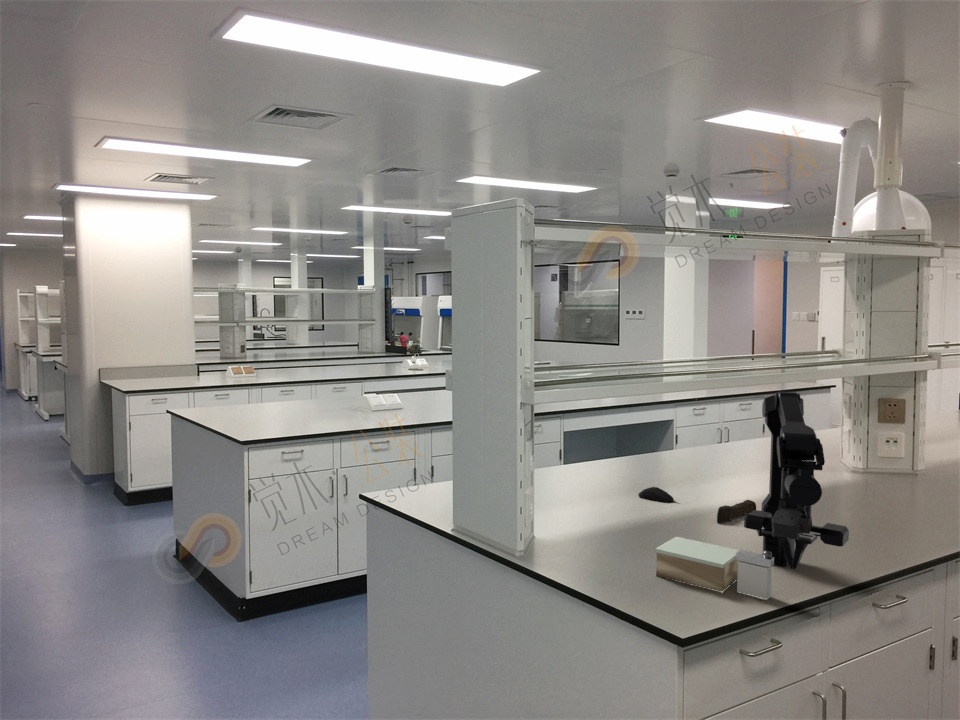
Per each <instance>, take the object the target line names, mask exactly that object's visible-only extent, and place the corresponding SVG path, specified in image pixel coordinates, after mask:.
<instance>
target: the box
mask: <svg viewBox="0 0 960 720" xmlns="http://www.w3.org/2000/svg"><path fill="white" fill-rule="evenodd" d="M738 561H739V560H736V559H735V560H733V561H732V562H731V563H729V564H728V565H727V566H725V567H724V568H720V567H716V566H711V565H707V564H703V563H699V562H695V561H691V560H686V559H682V558H678V557H674V556H670V555H665V554H661V553H657V552H656V565H655V566H656V568H655V569H656V570H655V572H656V573H655V575H656V577H658V576H660V577H659V578H662V577H664V578H663V579H666V578H668V579H667V580H670V579H673V580H677V581H681V582H685V583H689V584H693V585H697V586H701V587H706V588H710V589H714V590H718V591H723V590H724V589H726V588H727V587H728V586H729V585H731V584H732V583H733V582H734V581H735V580H737V579H738ZM673 580H672V581H673ZM677 581H676V582H677ZM681 582H680V583H681ZM685 583H684V584H685ZM689 584H688V585H689ZM732 585H733V584H732ZM732 585H731V586H732ZM726 590H727V589H726Z"/></svg>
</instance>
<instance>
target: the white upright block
mask: <svg viewBox="0 0 960 720" xmlns="http://www.w3.org/2000/svg"><path fill="white" fill-rule="evenodd" d="M772 567H773V566H772ZM772 567H771V568H769V567H765V566H761V565H756V564H752V563H748V562H743V561H738V579H737V581H736V583H737V584H736V585H737V587H736V588H737V589H736V593H737V592H741V593H745V594H750V595H754V596H758V597H762V598H765V599H766V598H768V597H769V596H770V595H772V593H771V592H772V570H773V569H772Z"/></svg>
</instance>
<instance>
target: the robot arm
mask: <svg viewBox="0 0 960 720" xmlns="http://www.w3.org/2000/svg"><path fill="white" fill-rule="evenodd" d="M804 407H805V406H804V399H803V398H802V397H801V395H800V393H797V392H796V391H778V392H775V393H774V394H773V395H771V396H768V397H765V398H764V400H763V402H762V407H761V408H762V409H761V412H762V413H761V414H762V417H763V418H764V423H765V425H766V427H767V428H768V430H769V432H770V435H771V436H770V457H769V458H770V461H769V463H770V466H769V489H768V494H767V495H766V497H765V498H764V499H763V501H762V502H761V510H759V509H758V510H757V509H756V510H754V511H752V512H750V513H748V514H745V516H744V519H743V524H744V525H743V527H744V528H745V529H748V530H749V529H750V530H755V531H756V533H757V536H758V537H762V552H763V551H771V552H772V557H774V565H777V564H778V566H781V565H783V566H782V567H787V566H788V565H789V566H788V567H789V568H790V569H792V570H797V568H798V566H799V563H800V561H801V559H802V557H803V555H804V554H805V553H804V552H805V551H806V548H807V547H808V546H809V545H812V544H813V543H814V542H815V541H817V539H818V537H819V539H820V541H822V543H823V544H825V545H829V546H835V547H843V546H845V544H846V543H847V542H848V541H849V539H850V538H849V536H850V531H849V529H848V527H847V526H846V525H841V524H835V523H830V522H827V523H826V524H825V525H823V526H818V525H813V518H812V506H813V505H815V504H818V502H819V501H820V500H821V498H822V495H823V489H822V486H821V484H820V482H819V481H818V480H817V479H816V477H815V471H823V466H824V465H825V463H826V462H825V454H824V453H825V452H824V447H823V444H822V443H821V439H820V438H817V434H816V432H815V430H814V429H813V427H810V426H809V425H807V424H806V423H805V419H804V415H805V411H804V410H805V408H804ZM761 554H762V555H763V553H761Z"/></svg>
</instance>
